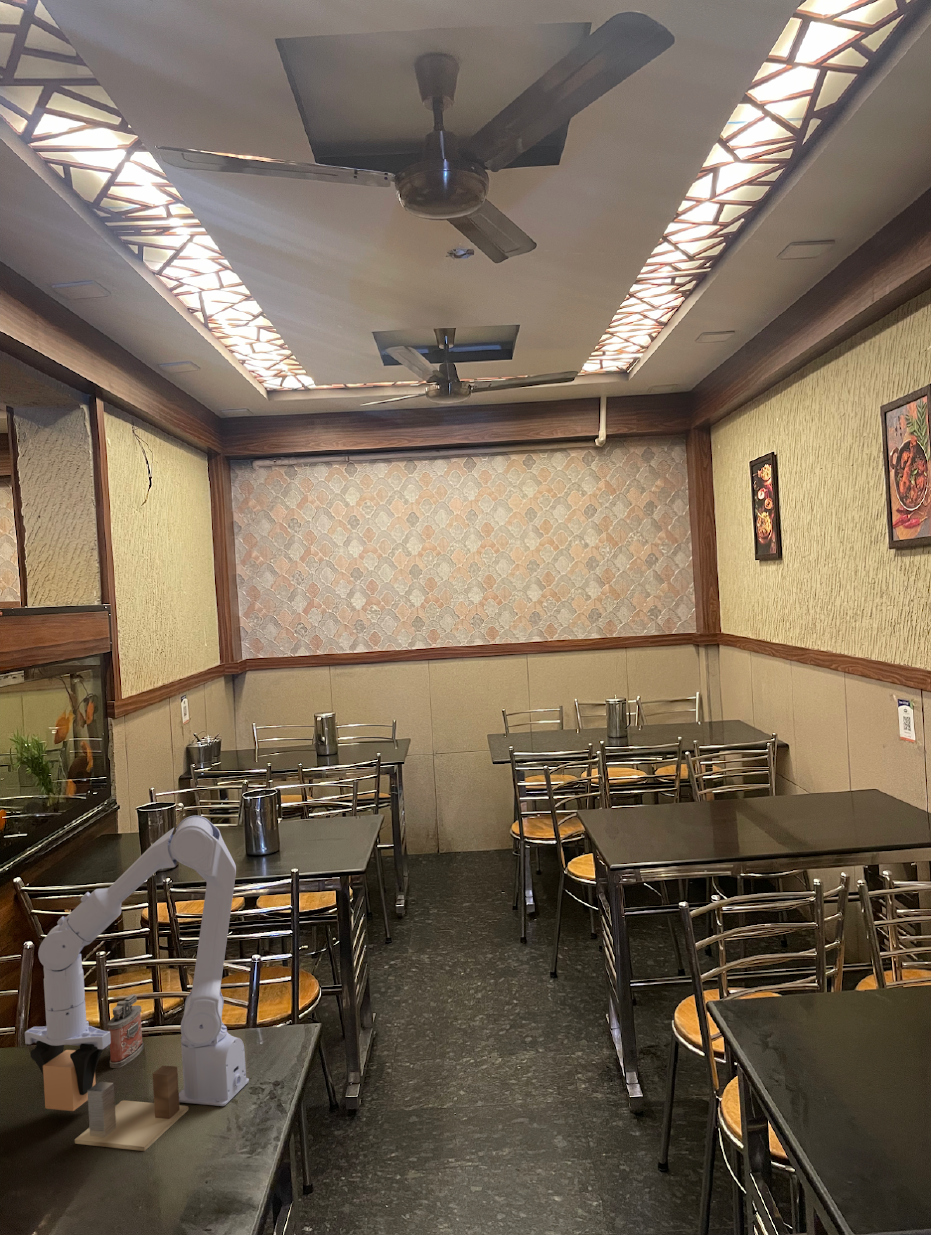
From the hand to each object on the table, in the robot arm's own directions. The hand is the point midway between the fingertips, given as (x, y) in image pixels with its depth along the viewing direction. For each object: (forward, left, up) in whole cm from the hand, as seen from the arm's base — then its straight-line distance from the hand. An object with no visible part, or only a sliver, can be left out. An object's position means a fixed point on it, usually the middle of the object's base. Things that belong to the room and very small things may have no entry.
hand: (70, 1090), depth 138 cm
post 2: (-16, -2, -4) cm, 17 cm away
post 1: (-9, +4, -4) cm, 11 cm away
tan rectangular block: (0, 0, -2) cm, 2 cm away
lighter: (+4, -19, -4) cm, 20 cm away
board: (-12, +1, -4) cm, 13 cm away
